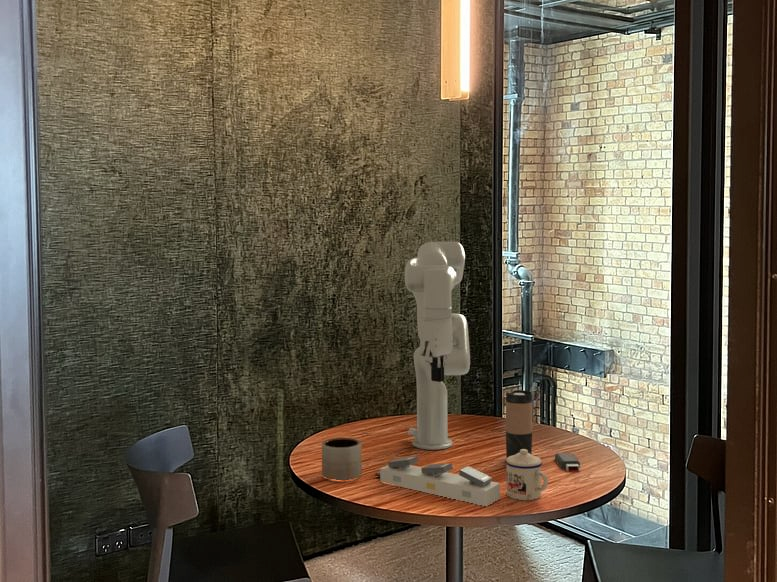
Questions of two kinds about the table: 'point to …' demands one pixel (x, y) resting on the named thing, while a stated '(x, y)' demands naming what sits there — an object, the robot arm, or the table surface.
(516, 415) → the travel mug
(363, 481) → the table surface
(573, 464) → the usb drive
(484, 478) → the rocker right
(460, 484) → the power strip
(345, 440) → the planter
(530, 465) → the teacup with lid
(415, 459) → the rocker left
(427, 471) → the rocker middle
